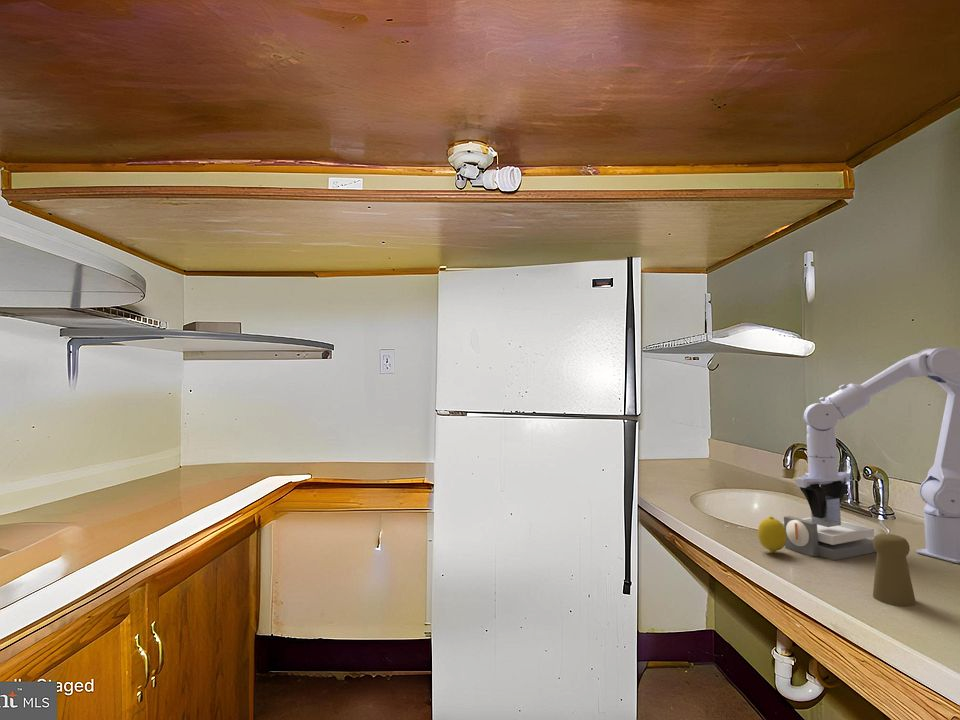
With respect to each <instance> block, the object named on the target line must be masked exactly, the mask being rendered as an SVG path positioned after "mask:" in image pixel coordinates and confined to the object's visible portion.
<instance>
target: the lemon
mask: <svg viewBox="0 0 960 720" xmlns="http://www.w3.org/2000/svg"><path fill="white" fill-rule="evenodd" d="M757 536H758V540H759V542H760V544H761V545H762V546H763V547H764V548H765V549H766V550H768V551H770V553H772V554H775V553H776V552H777V551H780V550H782V549H783V548H785V543H786V531H785V528H784V526H783V525H782V523H781V521H780V520H778V519H776V518H775V517H774V516H769V517H767V518H764V519H763V520H762V521H761V522H759V525H758V532H757Z"/></svg>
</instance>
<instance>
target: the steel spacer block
mask: <svg viewBox="0 0 960 720" xmlns="http://www.w3.org/2000/svg"><path fill="white" fill-rule="evenodd" d="M810 514H811V517H812V522H815V523H817V524H818V525H821V526H825V527H832V526H838V525H841V521H842V520H841V504H840V499H839V498H836V497H831V496H826V497H825V502H824V516H823V518H817V517H813V515H812V512H811V511H810Z"/></svg>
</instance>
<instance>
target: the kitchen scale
mask: <svg viewBox="0 0 960 720" xmlns="http://www.w3.org/2000/svg"><path fill="white" fill-rule="evenodd" d="M780 522H781V521H780ZM781 523H782V525H783V526H784V528H785V531H786V543H785V545H784V548H786V549H789V550H791V551H795V552H798V553H801V554H804V555H806V556H810V557H818V556H819V557H822V558H825V559H828V560H832V561H837V560H842V559H848V558H853V557H857V556H862V555H867V554H873V553H877V552H876V551H875V550H874V547H873V538H874V537H875V528H872V527H868V526H863V525H860V524H856V523H852V522H847V521H843V520H841V525H838V526H832V527H825V526H821V525H818V524H817V523H815V522H812V517H804V518H799V517H794V516H790V515H786V516H783V521H782V522H781ZM870 538H872V539H870Z"/></svg>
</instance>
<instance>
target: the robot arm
mask: <svg viewBox="0 0 960 720" xmlns="http://www.w3.org/2000/svg"><path fill="white" fill-rule="evenodd" d="M919 377H926V378H928V379H930V380H932V381H934V382H936V384H937V385H939V387H941V388H942V389H943V390H944V391H945V392H946V395H947V396H946V401H945V406H944V411H943V415H942V416H943V418H942V421H941V426H940V431H939V432H940V433H939V436H938V442H937V447H936V453H935V456H934V457H935V458H934V462H933V464H932V466H931V467H930V468H929V470H928V471H927V476H926V478H925V480H923V482H921V484H920V485H919V490H918V492H919V496H920V498H921V500H922V501H923V502H924V503H926V504H925V506H924V507H923V520H924V521H923V523H924V540H925V548H919V549H916V550H915V553H918V554H921V555H924V556H928V557H932V558H935V559H940V560H943V561H948V562H951V563H956V564H960V350H959V349H958V348H956V347H952V346H941V347H940V346H939V347H934V348H933V347H928V348H924V349H922V350H920V351H919V352H918V353H914V354H912V355H908V356H907V357H904V358H903V359H900V360H898V361H897V362H895V363H894V364H892V365H891V366H889V367H887V368H885V369H884V370H882V371H881V372H879V373H878V374H875V375H874V376H873V377H871V378H869V379H868V380H866V381H864V382H863V383H861V384H857V383H849V384H847V385H846V384H841V385H839V386H838V388H839V389H838V390H837V391H835V392H833V393H831V394H829V395H828V396H826V397H824V396H822V397H820V398H818V400H819V402H817V403H816V402H815V403H812V404H809V405H808V406H807V407H806V408H805V410H804V412H803V415H802V418H803V421H804V422H805V423H806V424H807V425H806V430H805V431H806V452H807V454H806V455H807V468H808V469H807V470H808V471H807V472H805V473H804V475H802V476H799V477H795V486H796V487H798V488H799V490H800V491H801V492H802V494H803V495H804V497H805V498H806V501H807V502H808V505H809V508H810V513H811V512H812V515H813V517H817V518H823V516H824V502H825V497H826V496H831V497H836V498H839V499H840V505H841V504H842V501H843V498H844V496H845V495H846V492H847V491H848V490H849V484H847V483H848V482H851V473H850V472H845V471H839V470H838V469H839V468H838V456H837V454H838V453H837V439H836V433H835V426H836V425H837V424H838V421H839V420H843V419H845V418H847V417H848V416H851V415H852V414H854V413H857V412H858V411H860V410H861V409H862V410H863V409H864V408H865V407H867V406H869V404H870V401H871V397H872V396H875V395H876V394H879V393H880V392H882V391H885V390H887V389H888V388H890V387H892V386H894V385H896V384H898V383H900V382H902V381H903V380H906V379H908V378H919ZM843 482H846V483H843Z"/></svg>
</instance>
